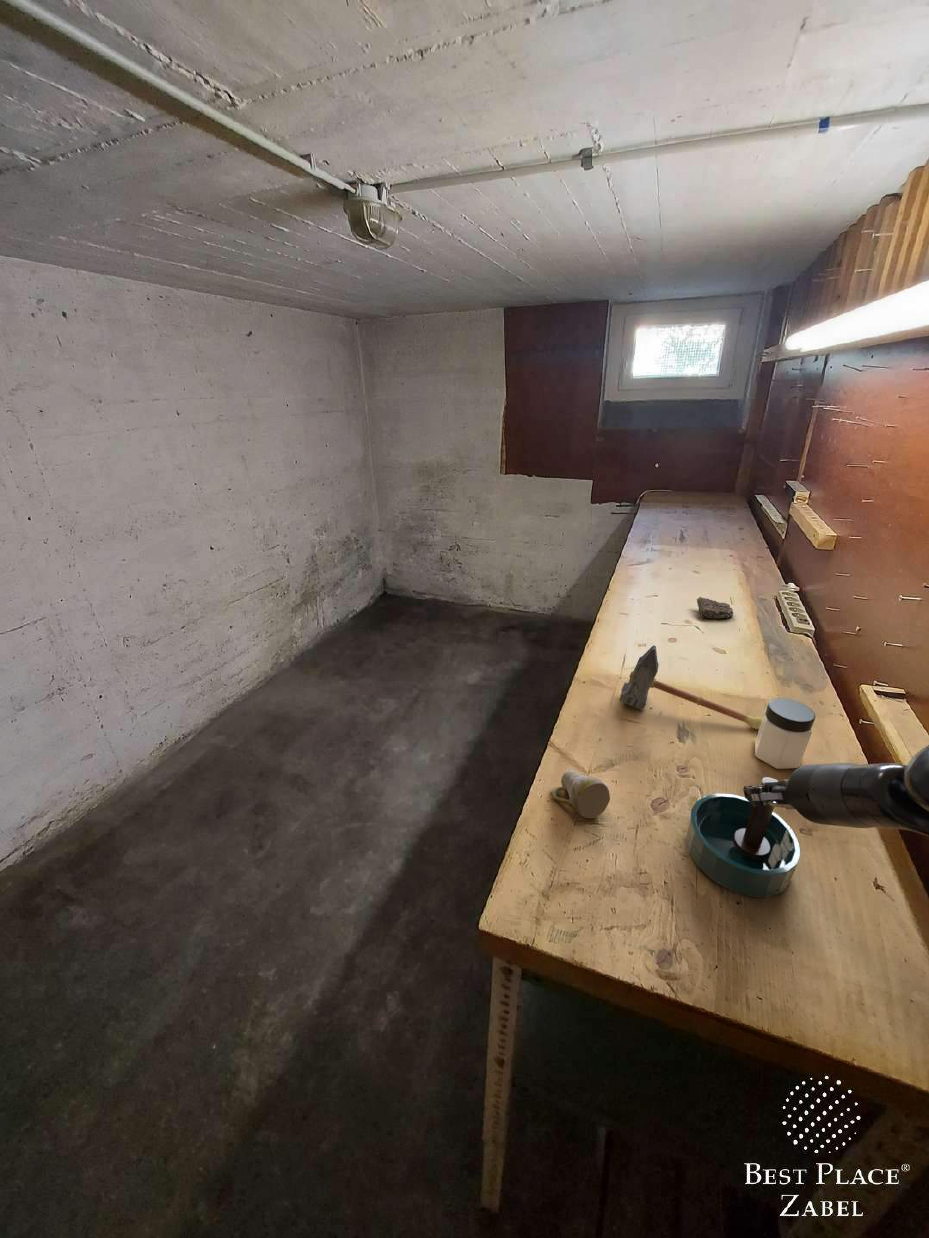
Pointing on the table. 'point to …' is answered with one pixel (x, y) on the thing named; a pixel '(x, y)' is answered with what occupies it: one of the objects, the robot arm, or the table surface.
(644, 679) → the hammer
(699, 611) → the concrete sample
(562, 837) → the table surface
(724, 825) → the bowl
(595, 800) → the mug
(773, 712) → the jar
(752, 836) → the brown flanged rod
